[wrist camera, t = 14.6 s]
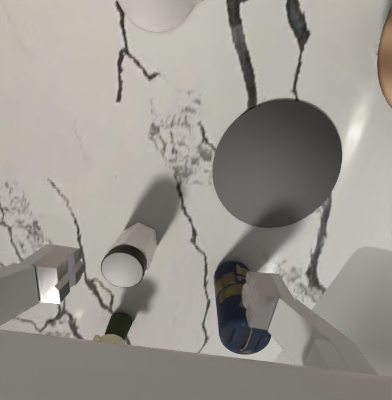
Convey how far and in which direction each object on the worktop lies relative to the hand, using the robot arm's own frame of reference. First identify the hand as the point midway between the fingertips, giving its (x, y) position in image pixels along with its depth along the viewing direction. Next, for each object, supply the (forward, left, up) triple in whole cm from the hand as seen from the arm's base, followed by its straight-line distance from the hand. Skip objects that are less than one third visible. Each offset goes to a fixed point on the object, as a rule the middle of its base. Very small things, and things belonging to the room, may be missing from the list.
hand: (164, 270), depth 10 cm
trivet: (-2, +18, -34) cm, 39 cm away
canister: (+26, +14, -34) cm, 45 cm away
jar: (+19, -10, -34) cm, 40 cm away
